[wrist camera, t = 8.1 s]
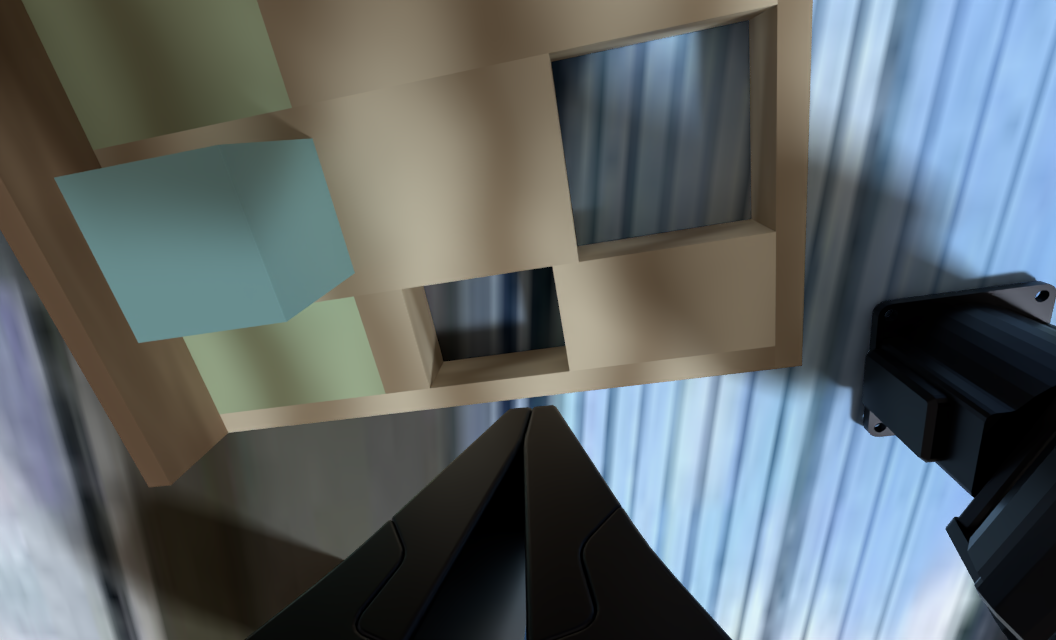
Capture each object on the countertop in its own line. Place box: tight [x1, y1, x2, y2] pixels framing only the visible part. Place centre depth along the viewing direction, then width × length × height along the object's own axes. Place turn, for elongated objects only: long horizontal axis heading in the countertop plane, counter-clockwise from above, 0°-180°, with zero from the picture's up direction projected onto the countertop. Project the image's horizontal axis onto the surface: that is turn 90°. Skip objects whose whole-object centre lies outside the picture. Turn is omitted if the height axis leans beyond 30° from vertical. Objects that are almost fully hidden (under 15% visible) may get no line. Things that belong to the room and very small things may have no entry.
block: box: [54, 138, 355, 343], centre depth 16 cm, size 5×5×5 cm
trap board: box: [0, 0, 813, 487], centre depth 17 cm, size 26×18×6 cm
